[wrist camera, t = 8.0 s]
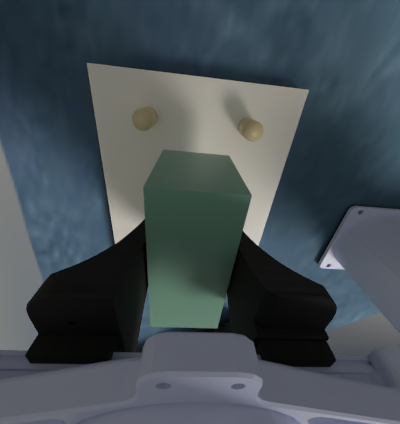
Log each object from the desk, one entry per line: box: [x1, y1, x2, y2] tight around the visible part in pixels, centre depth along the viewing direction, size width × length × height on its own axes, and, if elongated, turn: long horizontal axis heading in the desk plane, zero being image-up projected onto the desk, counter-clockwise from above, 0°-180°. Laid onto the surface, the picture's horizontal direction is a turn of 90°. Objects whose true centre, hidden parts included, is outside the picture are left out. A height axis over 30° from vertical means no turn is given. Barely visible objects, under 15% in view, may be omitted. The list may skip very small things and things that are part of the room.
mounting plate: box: [87, 63, 309, 245], centre depth 16 cm, size 14×17×3 cm
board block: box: [143, 149, 252, 328], centre depth 12 cm, size 4×9×6 cm, turn 174°
